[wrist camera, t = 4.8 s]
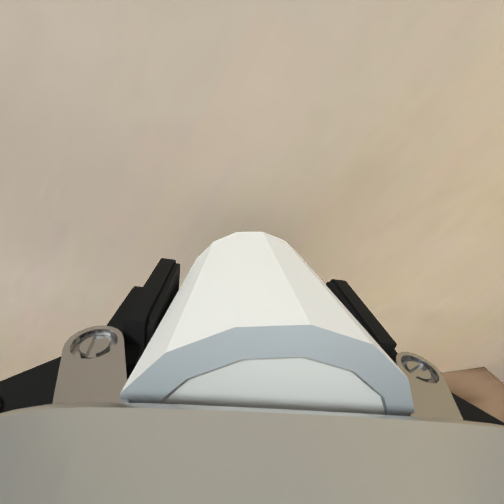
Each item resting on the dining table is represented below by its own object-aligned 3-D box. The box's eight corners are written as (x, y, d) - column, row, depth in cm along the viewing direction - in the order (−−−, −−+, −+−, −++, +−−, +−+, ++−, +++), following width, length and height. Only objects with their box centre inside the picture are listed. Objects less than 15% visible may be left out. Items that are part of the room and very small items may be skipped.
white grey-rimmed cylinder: (265, 360, 14) (292, 545, 8) (149, 306, 12) (54, 491, 6) (349, 267, 12) (484, 410, 6) (226, 184, 10) (214, 257, 4)
